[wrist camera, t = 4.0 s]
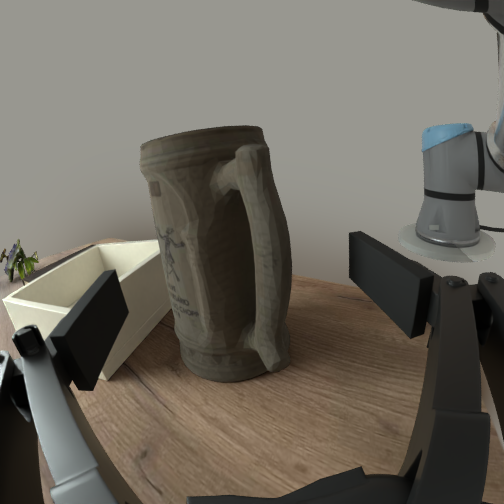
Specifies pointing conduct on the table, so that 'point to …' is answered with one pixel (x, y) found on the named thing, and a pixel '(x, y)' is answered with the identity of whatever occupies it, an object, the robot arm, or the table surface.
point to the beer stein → (222, 249)
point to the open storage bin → (78, 282)
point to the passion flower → (14, 258)
